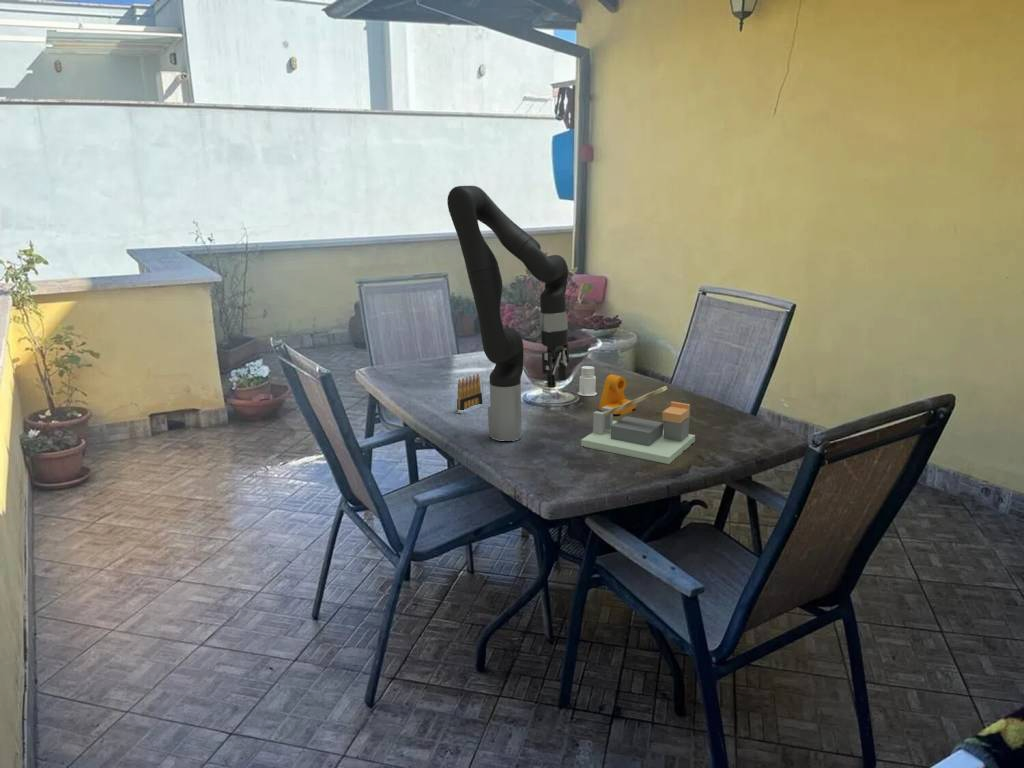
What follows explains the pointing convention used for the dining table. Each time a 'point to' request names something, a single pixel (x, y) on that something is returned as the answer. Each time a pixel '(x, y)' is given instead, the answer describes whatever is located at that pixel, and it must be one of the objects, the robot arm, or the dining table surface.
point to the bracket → (615, 394)
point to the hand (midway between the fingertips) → (557, 383)
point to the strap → (635, 401)
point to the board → (638, 450)
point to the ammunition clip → (469, 393)
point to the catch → (676, 412)
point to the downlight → (587, 382)
